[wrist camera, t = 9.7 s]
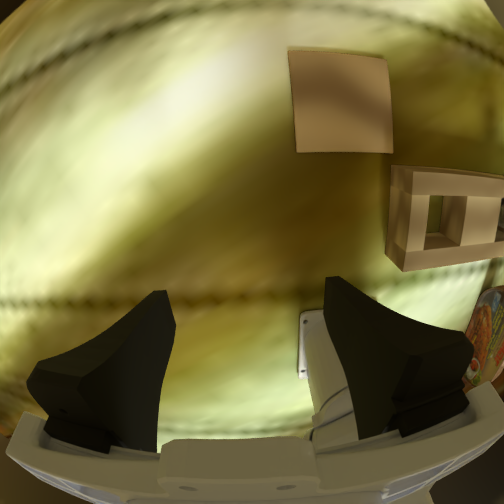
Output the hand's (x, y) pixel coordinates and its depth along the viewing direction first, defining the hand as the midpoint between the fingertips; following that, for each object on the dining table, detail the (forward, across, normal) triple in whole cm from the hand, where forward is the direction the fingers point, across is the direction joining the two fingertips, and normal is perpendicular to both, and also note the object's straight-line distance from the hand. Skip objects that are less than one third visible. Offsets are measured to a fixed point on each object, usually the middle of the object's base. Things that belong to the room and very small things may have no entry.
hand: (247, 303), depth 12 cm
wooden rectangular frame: (+10, -21, 0) cm, 24 cm away
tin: (+10, -30, +16) cm, 36 cm away
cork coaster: (+10, -8, -10) cm, 16 cm away
